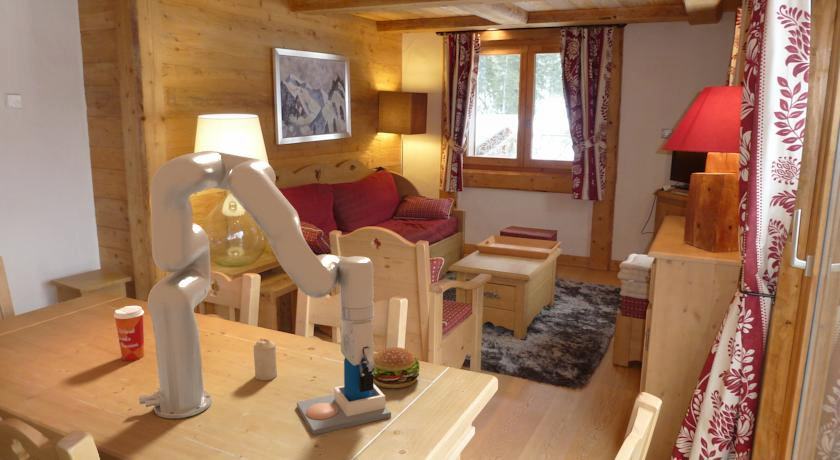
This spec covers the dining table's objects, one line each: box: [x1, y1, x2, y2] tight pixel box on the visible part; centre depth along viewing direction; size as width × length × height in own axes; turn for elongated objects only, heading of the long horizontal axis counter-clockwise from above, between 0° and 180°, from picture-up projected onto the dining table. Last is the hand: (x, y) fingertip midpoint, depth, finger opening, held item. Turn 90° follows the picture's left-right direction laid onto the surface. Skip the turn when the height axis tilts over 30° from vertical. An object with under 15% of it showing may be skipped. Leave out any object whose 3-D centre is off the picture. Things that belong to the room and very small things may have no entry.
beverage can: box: [343, 357, 372, 402], centre depth 143 cm, size 6×6×12 cm
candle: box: [253, 338, 278, 382], centre depth 161 cm, size 6×6×10 cm
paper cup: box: [113, 305, 145, 362], centre depth 173 cm, size 8×8×14 cm
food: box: [373, 346, 420, 389], centre depth 159 cm, size 14×14×8 cm
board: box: [296, 382, 392, 436], centre depth 143 cm, size 18×14×4 cm
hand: (359, 381), depth 143 cm, fingers open, 9 cm apart
